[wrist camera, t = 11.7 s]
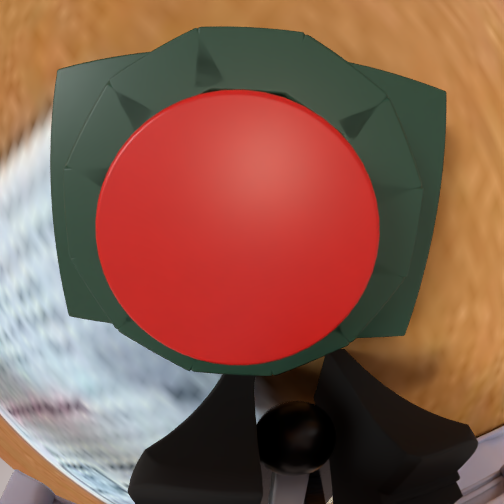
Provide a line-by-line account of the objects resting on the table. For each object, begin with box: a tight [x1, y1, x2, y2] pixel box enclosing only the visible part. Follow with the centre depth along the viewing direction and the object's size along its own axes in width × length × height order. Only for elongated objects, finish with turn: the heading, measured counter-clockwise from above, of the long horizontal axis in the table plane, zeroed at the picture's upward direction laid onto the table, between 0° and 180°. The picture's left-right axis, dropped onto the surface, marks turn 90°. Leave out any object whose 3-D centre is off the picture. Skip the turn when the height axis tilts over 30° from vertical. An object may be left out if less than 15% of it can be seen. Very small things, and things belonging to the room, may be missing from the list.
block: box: [50, 27, 446, 376], centre depth 6 cm, size 10×7×4 cm
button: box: [95, 90, 380, 365], centre depth 4 cm, size 4×4×2 cm
